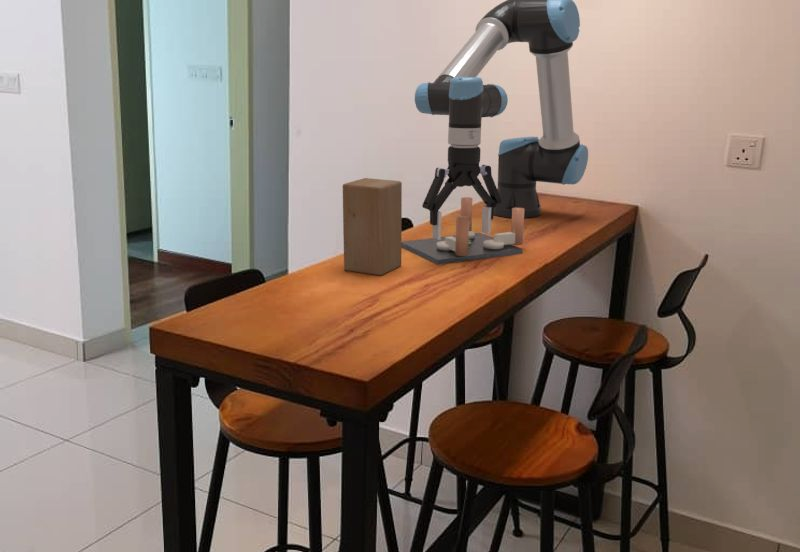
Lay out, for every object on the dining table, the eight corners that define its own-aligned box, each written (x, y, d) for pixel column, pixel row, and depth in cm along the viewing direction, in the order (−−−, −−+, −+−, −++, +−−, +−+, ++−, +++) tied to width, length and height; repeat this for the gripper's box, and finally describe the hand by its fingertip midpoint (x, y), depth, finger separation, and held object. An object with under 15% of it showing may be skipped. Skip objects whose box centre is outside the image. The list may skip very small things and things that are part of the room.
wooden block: (343, 270, 182) (341, 183, 177) (365, 260, 191) (364, 177, 185) (381, 276, 178) (381, 187, 172) (402, 265, 187) (402, 180, 181)
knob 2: (474, 239, 206) (475, 205, 203) (454, 239, 206) (455, 204, 204) (475, 230, 216) (476, 197, 214) (456, 229, 217) (457, 197, 214)
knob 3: (490, 249, 195) (491, 213, 193) (479, 245, 199) (480, 210, 197) (527, 245, 200) (529, 209, 197) (516, 241, 204) (517, 206, 202)
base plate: (479, 236, 215) (479, 228, 214) (522, 253, 198) (522, 244, 197) (399, 246, 205) (399, 237, 204) (438, 264, 188) (438, 255, 187)
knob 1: (433, 246, 198) (433, 211, 196) (450, 244, 200) (451, 209, 198) (455, 256, 189) (456, 219, 186) (473, 254, 191) (474, 217, 188)
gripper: (424, 150, 175) (422, 244, 181) (518, 145, 186) (514, 234, 192) (408, 146, 182) (407, 237, 187) (500, 142, 193) (496, 228, 198)
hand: (461, 236), depth 190 cm, fingers open, 13 cm apart
